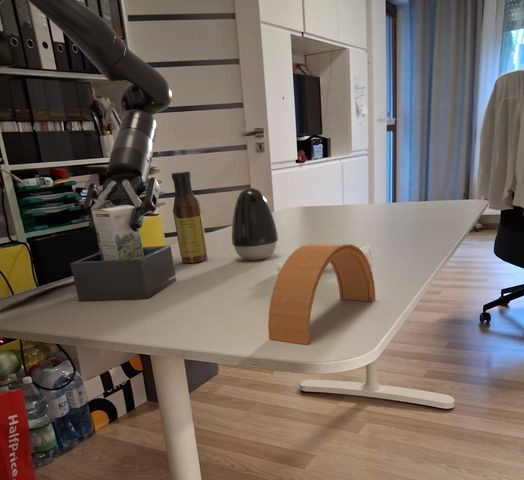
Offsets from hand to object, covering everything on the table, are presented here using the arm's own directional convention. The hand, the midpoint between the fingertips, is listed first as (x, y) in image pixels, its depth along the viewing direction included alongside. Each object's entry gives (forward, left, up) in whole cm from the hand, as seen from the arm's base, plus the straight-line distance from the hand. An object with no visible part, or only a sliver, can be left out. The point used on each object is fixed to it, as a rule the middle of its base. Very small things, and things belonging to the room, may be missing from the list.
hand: (113, 230), depth 94 cm
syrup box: (0, +1, -11) cm, 11 cm away
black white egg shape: (+19, +26, -12) cm, 35 cm away
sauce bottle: (+4, +26, -12) cm, 29 cm away
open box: (0, +1, -12) cm, 12 cm away
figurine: (+36, +10, -12) cm, 39 cm away
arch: (+40, -18, -12) cm, 46 cm away
